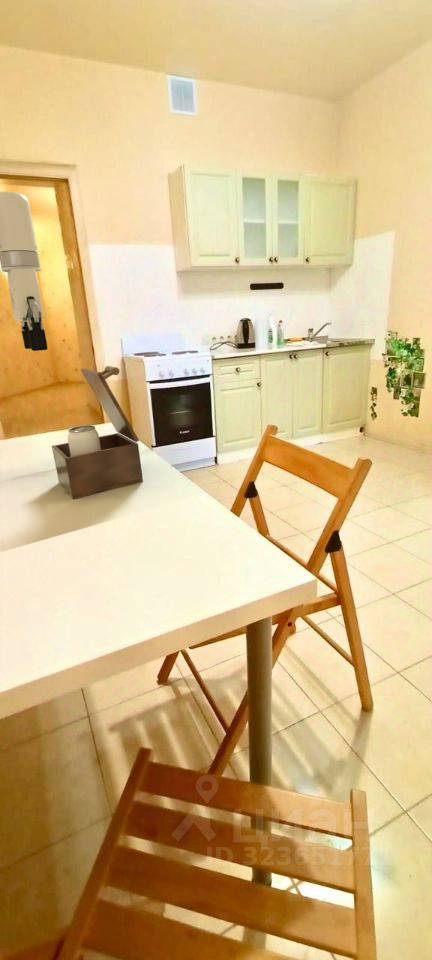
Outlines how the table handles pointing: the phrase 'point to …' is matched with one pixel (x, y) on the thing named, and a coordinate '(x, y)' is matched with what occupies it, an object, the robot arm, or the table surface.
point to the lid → (109, 400)
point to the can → (83, 440)
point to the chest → (99, 466)
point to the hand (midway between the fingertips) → (36, 349)
